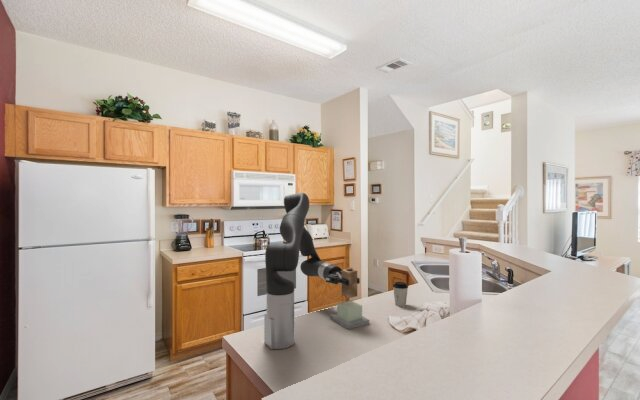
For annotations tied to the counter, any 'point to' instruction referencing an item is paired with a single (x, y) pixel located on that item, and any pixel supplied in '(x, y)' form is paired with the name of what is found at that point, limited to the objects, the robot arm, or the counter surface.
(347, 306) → the foundation
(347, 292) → the walnut pillar block
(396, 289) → the coffee cup
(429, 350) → the counter surface
